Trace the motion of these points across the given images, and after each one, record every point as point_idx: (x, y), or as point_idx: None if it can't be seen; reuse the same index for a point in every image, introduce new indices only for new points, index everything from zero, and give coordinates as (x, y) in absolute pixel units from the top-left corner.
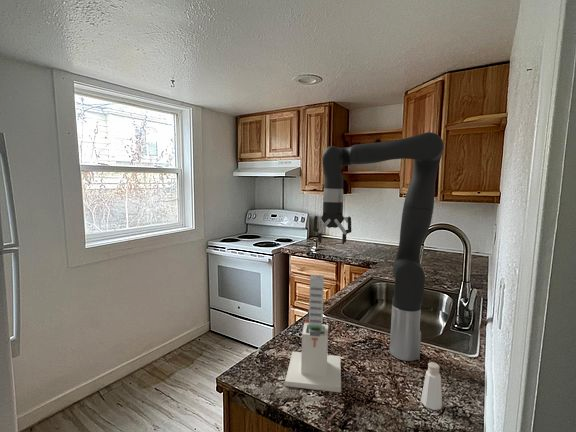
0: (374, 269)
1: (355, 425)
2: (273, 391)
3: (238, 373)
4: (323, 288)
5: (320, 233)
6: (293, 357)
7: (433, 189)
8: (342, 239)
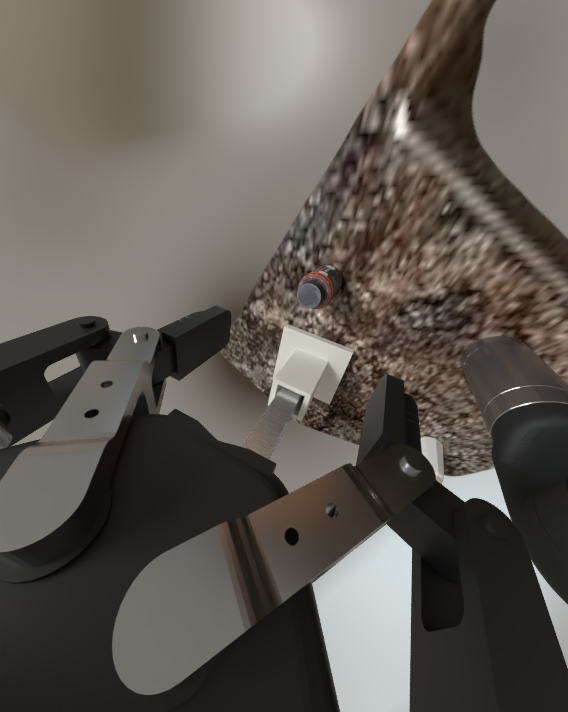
0: None
1: (329, 433)
2: (264, 379)
3: (228, 345)
4: (269, 453)
5: (169, 369)
6: (284, 341)
7: None
8: (362, 431)
